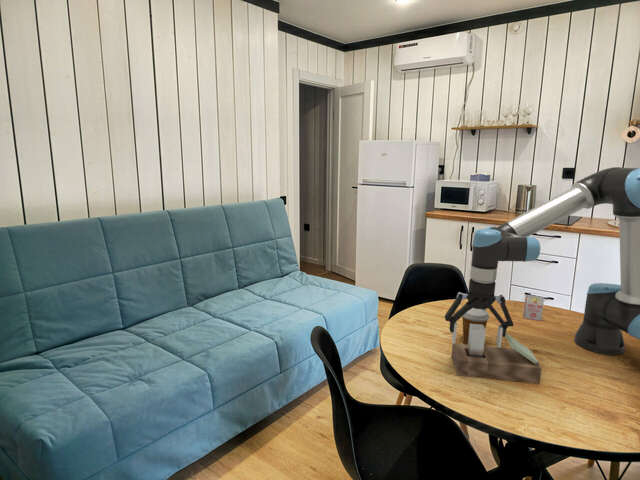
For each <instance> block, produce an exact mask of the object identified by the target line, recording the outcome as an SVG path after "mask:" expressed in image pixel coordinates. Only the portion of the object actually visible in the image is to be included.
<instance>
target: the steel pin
mask: <svg viewBox="0 0 640 480" xmlns="http://www.w3.org/2000/svg"><path fill="white" fill-rule="evenodd" d="M486 330H487V329H486V328H484V326H483V325H480V324H470V328H469V338H468V348H467V356H469V357H479V358H483V350H484V346H485V338H486V332H487V331H486Z"/></svg>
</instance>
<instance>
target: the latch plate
mask: <svg viewBox="0 0 640 480" xmlns="http://www.w3.org/2000/svg"><path fill="white" fill-rule="evenodd" d="M504 338H505V339H506V341H507V342H508V343H509V345H510V348H513V349H515V350H516V351H518V352H519V353H521V354H522V355H523V356H525V357H526V358H528V359H529V360H530V361H532V362H533V363H535V364H536V365H540V363H539V361H538V359H537V358H536V356H535V355H534V354H533V352H532V350H531V349H529V348H528V347H526V346H525V345H523V344H522V343H521V342H520V341H518V340H517V339H516V338H514V337H512V336H511V335H510V334H508V333H506V336H505V337H504Z"/></svg>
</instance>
